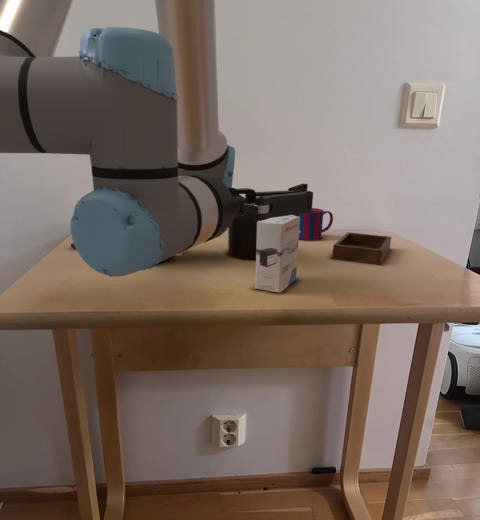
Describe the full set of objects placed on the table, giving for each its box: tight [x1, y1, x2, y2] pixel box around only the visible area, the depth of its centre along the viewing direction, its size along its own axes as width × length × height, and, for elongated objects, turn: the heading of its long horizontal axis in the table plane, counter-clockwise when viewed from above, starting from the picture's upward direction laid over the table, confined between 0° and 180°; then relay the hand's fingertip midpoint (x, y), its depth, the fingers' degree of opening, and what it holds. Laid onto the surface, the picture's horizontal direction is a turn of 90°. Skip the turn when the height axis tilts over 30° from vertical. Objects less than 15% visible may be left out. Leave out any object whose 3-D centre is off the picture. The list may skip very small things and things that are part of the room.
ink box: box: [254, 215, 300, 294], centre depth 84 cm, size 8×5×12 cm, turn 154°
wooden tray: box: [331, 231, 392, 266], centre depth 107 cm, size 10×14×3 cm
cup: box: [298, 207, 334, 241], centre depth 121 cm, size 7×10×7 cm
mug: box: [227, 215, 258, 260], centre depth 104 cm, size 9×12×9 cm
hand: (259, 190), depth 71 cm, fingers open, 13 cm apart
